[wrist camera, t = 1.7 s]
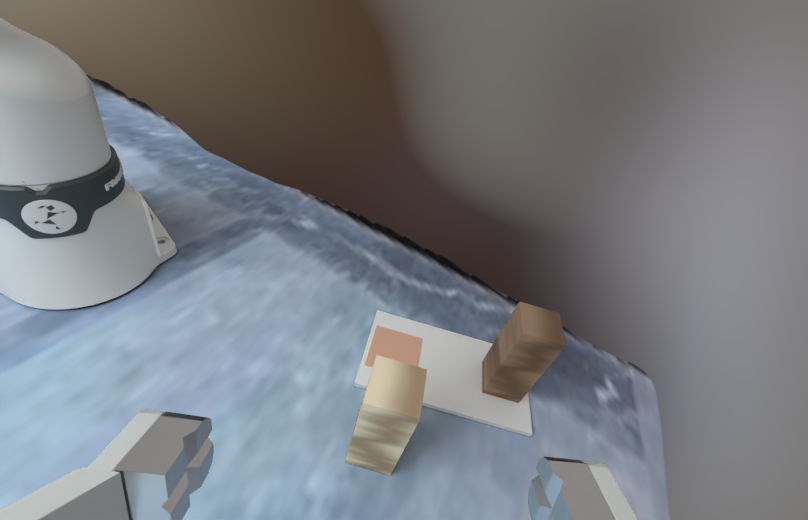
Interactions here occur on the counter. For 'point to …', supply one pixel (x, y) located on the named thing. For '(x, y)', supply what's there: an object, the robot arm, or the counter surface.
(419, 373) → the birch pillar
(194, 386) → the counter surface
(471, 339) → the white mat
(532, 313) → the walnut pillar
